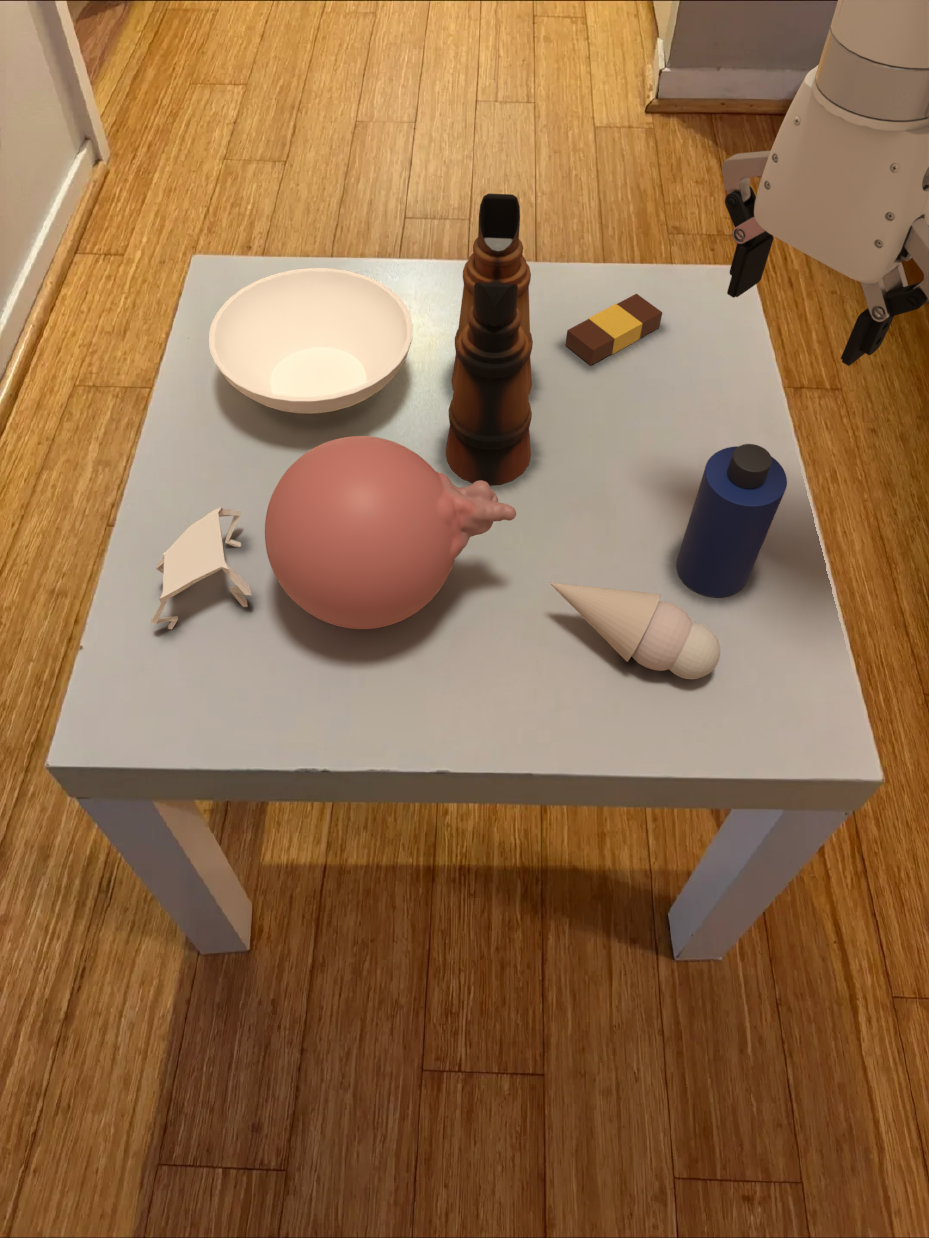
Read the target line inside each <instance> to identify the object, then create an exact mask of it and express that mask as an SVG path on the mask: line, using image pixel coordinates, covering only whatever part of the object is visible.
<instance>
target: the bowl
mask: <svg viewBox="0 0 929 1238" xmlns="http://www.w3.org/2000/svg"><path fill="white" fill-rule="evenodd" d="M413 329H414V324H413V320H412V316H411V313H410V311H409V309H408V308H407V305H406V304H405V302H404V301H403V300H402V298H401V297H400V296H398V294H396V293H395V291H393V289H391V288H389V287H388V286H386V285H385V284H384V283H382V282H380V281H378V280H377V279H376V280H375V279H373V278H372V277H369V276H367V275H364V274H362V273H361V274H360V273H358V272H354V271H350V270H345V269H339V268H338V269H337V268H331V267H308V268H299V269H291V270H286V271H282V272H278V273H274V274H271V275H268V276H266V277H263V278H260V279H258V280H255V281H253V282H251V283H250V284H248V285H245V286H244V287H242V288H241V289H239V290H238V291H237V292H235V293H234V294H233V295H231V296H230V297H229V298H228V299H226V301H225V302H224V303H223V305H222V306H221V307H220V308H219V309H218V310H217V312H216V314H215V316H214V317H213V320H212V321H211V323H210V328H209V333H208V348H209V352H210V354H211V356H212V360H213V362H214V364H215V365H216V367H217V369H218V370H219V372H220V373H221V374H222V375H223V377H224V378H225V380H226V381H228V383H229V384H230V386H232V387H234V388H235V389H236V390H237V391H238V392H240V393H241V394H242V395H244V396H246V397H247V398H249V399H252V400H253V401H255V402H257V403H259V404H261V405H263V406H264V407H268V408H271V409H273V410H274V409H275V410H277V411H281V412H288V413H293V414H322V413H323V414H324V413H330V412H335V411H339V410H343V409H346V408H349V407H352V406H355V405H357V404H359V403H361V402H364V401H366V400H367V399H368V398H371V397H372V396H374V395H376V393H378V392H379V391H381V390H382V389H383V388H384V387H385V386H386V385H387V384H388V383H389V382H390V381H391V380H392V379H393V378H394V377H396V375H397V374H398V372H399V371H400V370H401V368H402V367H403V365H404V363H405V361H406V359H407V357H408V353H409V351H410V348H411V345H412V343H413V342H412V341H413V333H414V330H413Z"/></svg>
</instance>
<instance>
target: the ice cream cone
mask: <svg viewBox="0 0 929 1238" xmlns="http://www.w3.org/2000/svg"><path fill="white" fill-rule="evenodd" d="M549 584H550V585H551V587H553V588H554V589H555V590H556V591H557V593H559V595H561V597H562V598H563V599H564V600H565V601H566V602H567V603H568V604H569V605H571V607H572V608H573V609H574V610H575V611H576V612H577V613H578V614H579V615H580V616H581V617H582V618H583V619H584V620H585V621H586V622H587V623H588V624H589V625H590V626H591V627H592V628H593V629H594V630H595V632H597V633H598V634H599V636H601V637H602V638H603V639H604V640H605V642H606V643H607V644H609V646H610V647H612V648H613V650H614V651H616V653H617V654H619V656H621V658H622V659H623V660H624V661H626V662H629V660H630V659H631V657H632V658H633V660H634V661H636V662H637V663H638V664H639V665H641V666H643V667H644V668H646V669H649V670H652V671H653V670H654V671H667V670H669V671H670V672H671V673H673V674H674V675H676V676H677V677H680V678H682V679H685V680H697V679H701V678H704V677H706V676H708V675H710V673H712V671H713V670H715V668H716V667H717V665H718V663H719V661H720V657H721V646H720V642H719V639H718V637H717V635H716V634H715V633H714V631H713V630H711V629H710V628H709V627H707V626H706V625H704V624H703V623H702V624H701V623H699V622H693V621H692V618H691V617H690V616H689V613H687V612H686V611H685V610H684V608H682V607H680V606H678V605H677V604H675V603H672V602H669V601H663V600H662V601H661V600H660V599H661V595H662V594H661V593H654V592H644V591H635V590H624V589H615V588H606V587H595V586H585V585H578V584H577V585H576V584H567V583H557V582H549Z"/></svg>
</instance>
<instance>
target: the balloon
mask: <svg viewBox="0 0 929 1238" xmlns="http://www.w3.org/2000/svg"><path fill="white" fill-rule="evenodd" d="M490 486H491V485H489V484H488V483H487V482H485V481H482V480H479V481H476V482H474V483H471V484H470V485H468V486H460V487H459V486H456V485H455V484H453V482H452V481H451V479H450V478H449V476H447V475H446V474H444V473H442V472H438V471H436V470H435V469H434V467H432V465H431V464H430V463H429V462H428V461H426V460H425V459H424V458H422V456H420V455H419V454H418V453H417V452H415V451H414V450H412V449H410V448H408V447H407V446H404V445H402V444H400V443H398V442H395V441H392V440H389V439H387V438H381V437H376V436H371V435H353V436H344V437H340V438H335V439H332V440H329V441H326V442H323V443H321V444H319V445H317V446H315V447H313V448H311V449H309V450H308V451H307V452H305V453H303V454H302V455H301V456H300V457H299V458H298V459H296V460H295V461H294V462H293V463H292V464H291V465H290V466H289V467H288V468H287V470H286V471H284V474H283V475H282V476H281V477H280V478H279V480H278V482H277V484H276V485H275V488H274V489H273V491H272V494H271V496H270V500H269V501H268V505H267V509H266V514H265V520H264V521H265V522H264V544H265V550H266V554H267V558H268V561H269V564H270V567H271V569H272V572H273V574H274V576H275V578H276V579H277V582H278V583H279V585H280V586H281V587H282V589H283V590H284V592H285V593H286V594H287V596H289V597H290V599H291V600H292V601H293V602H294V603H295V604H296V605H298V606H299V607H300V608H301V609H303V610H304V611H305V612H307V613H308V614H310V615H311V616H313V617H315V618H316V619H319V620H320V621H322V622H325V623H328V624H331V625H333V626H336V627H340V628H346V629H353V630H372V629H379V628H384V627H388V626H391V625H394V624H397V623H399V622H402V621H404V620H406V619H408V618H410V617H411V616H413V615H415V614H417V613H418V612H419V611H420V610H422V609H423V608H424V607H425V606H427V605H428V604H429V603H430V602H431V601H432V600H433V599H434V597H435V596H436V595H437V594H438V593H439V592H440V590H441V589H442V587H443V586H444V584H445V582H446V581H447V579H448V577H449V575H450V573H451V570H452V569H453V565H454V562H455V559H456V558H458V556H460V554H461V553H462V551H463V550H464V549H465V548H466V546H467V545H468V543H469V540H470V538H472V537H474V536H478V535H483V534H485V533H487V532H489V531H490V529H491V528H492V527H493V524H494V522H502V521H513V520H514V519H515V518H516V517H517V511H516V508H515V507H514V506H512V505H510V504H507V503H505V502H501V501H499V498H498V496H497V494H496V492H495V491H494V490H493V489H492V488H491V487H490Z"/></svg>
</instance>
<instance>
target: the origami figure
mask: <svg viewBox="0 0 929 1238" xmlns="http://www.w3.org/2000/svg"><path fill="white" fill-rule="evenodd" d="M241 513H242V511H240V510H236V509H230V508H223V507H222V506H220V507H218V508H215V509H214V510H212V511H210V512H209V513H207V514H206V515H204V516H203V517H201V518H200V519H198V520H196V521H195V522H194V523H192V524H191V525H189V526H188V527H187V529H185V530H184V531H183V532H182V534H181V535H180V536H179V537H178V538H177V539H176V540H175V541H174V542H173V543H172V545H170V546H169V548H168V549H167V550H166V551H164V552H162V556H163V557H162V558H161V559H160V560H158V562H157V563H156V568H155V569H156V570H157V571H158V572H159V573H161V574H162V592H161V594H160V597H159V601H160V603H159V606H158V609H157V610H156V612H155V613H154V614H153V616H152V618H151V621H150V624H154V625H155V624H156V625H158V624H163V623H169V624H168V626H167V630H173V628H174V626H175V625H176V624H177V622H178V620H179V615H175V616H166V617H161V615H162V613H163V611H164V608H165V606H166V604H167V601H168V600H170V599H171V598H173V597H175V596H176V595H178V594H180V593H181V592H183V591H185V590H187V588H190V587H191V586H192V585H194V584H196V583H197V582H199V581H201V580H203V579H206V578H207V577H209V576H212V575H213V574H215V573H218V572H219V571H221V570H222V571H223V572H224V573H225V574H226V575H227V577H228V578H229V579H230V580H231V581H232V582H233V584H235V585H230V586H229V591H230V593H231V594H232V595H233V597H234V598H235V600H237V602H239V604H240V605H241V606H242V608H248V607H249V606H248V600H247V599H246V597H245V596H252V591H251V586H250V585H249V584H248V583H247V581H245V580H244V579H243V578H242V577H241V576H240V575H239V574H238V573H236V572H235V570H233V569H232V567H230V565H228V564H227V563H226V560H225V558H226V557H225V550H224V543H225V544H228V545H230V546H232V547H235V548H241V547H242V542H240V541H238V540H235V539H231V538H232V535H233V532H234V530H235V528H236V526H237V524H238V521H239V519H240V517H241ZM220 517H232V520H231V523H230V525H229V528H228V531H227V534H226V537H225V542H224V543H223V535H222V528H221V520H220Z"/></svg>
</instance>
